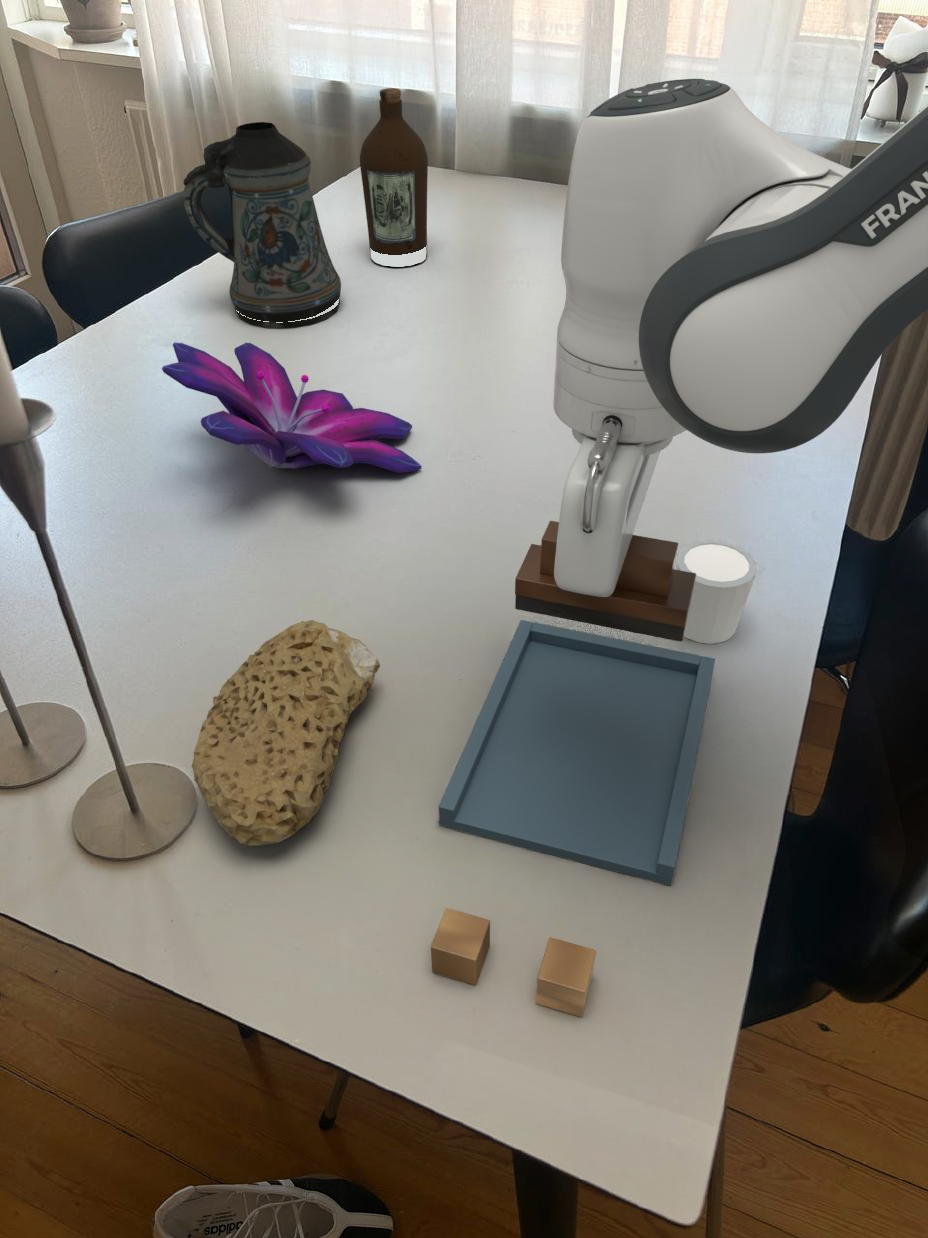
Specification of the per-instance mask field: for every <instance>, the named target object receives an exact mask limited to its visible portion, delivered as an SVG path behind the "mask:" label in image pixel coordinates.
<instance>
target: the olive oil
mask: <svg viewBox="0 0 928 1238" xmlns="http://www.w3.org/2000/svg"><path fill="white" fill-rule="evenodd" d="M379 97H380V100H379V114H380V117H379V119H378V122H376V124H375V125H374V126H373V128H372V129H371V130H370V132H369V133H368V135H367V136H366V137H365V139H364V140H363V142H362V144H361V147H360V148H361V150H360V152H359V153H360V154H359V167H360V168H359V169H360V176H361V183H362V184H361V185H362V191H363V192H362V193H363V199H364V200H363V201H364V207H365V217H366V225H367V234H368V244H369V249H370V248H371V249H372V250H373V251H375V252H378V253H380V254H381V253H382V254H388V255H402V254H408V253H413V252H416V251H419V250H421V249H423V248H424V247H426V245H427V246H428V177H429V176H428V171H429V169H428V168H429V160H428V153H427V149H426V146H425V143H424V141H423V139H422V138H421V136H419V134H418V133H417V132H416V131H415V130H414V129H413V128H412V127H411V126H410V124H408V123H407V121H406V120H405V118H404V117H403V100H402V99H401V97H402V93H401V89H399V88H392V87H390V88H382V89H381V90H379Z"/></svg>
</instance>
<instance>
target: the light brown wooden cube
mask: <svg viewBox="0 0 928 1238" xmlns="http://www.w3.org/2000/svg"><path fill="white" fill-rule="evenodd" d="M596 954H597V950H596V949H594V948H591V947H586V946H583V945H579V944H576V943H573V942H569V941H565V940H562V939H559V938H555V937H551V936H550V937H548V941H547V943H546V947H545V951H544V953H543V958H542V961H541V964H540V966H539V967H540V968H539V971H538V975H537V978H536V989H535V990H536V991H535V1004H537V1005H540V1006H544V1007H547V1008H550V1009H553V1010H557V1011H559V1012H563V1013H566V1014H569V1015H573V1016H576V1017H579V1018H582V1017H583V1016H584V1013H585V1008H586V1005H587V1000H588V996H589V992H590V988H591V984H592V980H593V976H594V970H595V964H596V963H595V962H596V957H597V956H596Z"/></svg>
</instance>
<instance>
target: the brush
mask: <svg viewBox="0 0 928 1238" xmlns="http://www.w3.org/2000/svg"><path fill="white" fill-rule="evenodd" d="M558 527H559V521H555V520H549V522H548V524H547V526H546V528H545V530H544V533H543V535H542V537H541V542H540V543H541V544H535V543H531V544H530V546H529V548H528V550H527V553H526V555H525V557H524V559H523V561H522V563H521V565H520V568H519V570H518V572H517V574H516V576H515V579H514V580H515V581H514V584H515V585H514V595H515V600H514V601H515V602H514V606H515V607H514V609H515V610H517V611H523V612H526V613H527V612H528V613H533V614H538V615H542V616H548V617H552V618H553V617H554V618H557V619H558V618H559V619H563V620H568V621H573V622H577V623H578V622H579V623H583V624H589V625H594V626H598V627H599V626H600V627H604V628H609V629H613V630H619V631H624V632H628V633H629V632H630V633H634V634H640V635H644V636H649V637H655V638H660V639H664V640H670V641H675V642H680V643H682V642H683V640H684V637H685V636H684V632H685V627H686V623H687V618H688V614H689V610H690V605H691V599H692V594H693V589H694V584H695V578H696V573H692V572H686V571H681V570H676V568H675V567H676V562H677V555H678V550H679V549H678V548H679V542H678V541H671V540H665V539H659V538H653V537H648V536H643V535H636V534H633V535H632V538H631V541H630V544H629V547H628V550H627V553H626V556H625V559H624V562H623V565H622V569H621V572H620V575H619V578H618V581H617V584H616V587H615V589H614V592H613V593H612V594H611V595H610V596H608V597H598V596H592V595H586V594H580V593H576V592H571V591H566V590H563V589H561V588H559V587H558V586H557V584H556V581H555V578H554V566H555V556H556V545H557V536H558Z"/></svg>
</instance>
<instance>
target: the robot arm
mask: <svg viewBox="0 0 928 1238" xmlns="http://www.w3.org/2000/svg"><path fill="white" fill-rule="evenodd" d="M571 157H572V158H571V163H570V169H569V174H568V181H567V188H566V195H565V205H564V216H563V225H562V240H561V250H560V251H561V254H560V258H561V259H560V263H561V270H562V274H563V277H564V283H565V300H564V307H563V309H562V312H561V315H560V318H559V321H558V324H557V329H556V343H555V344H556V345H555V346H556V347H555V349H556V350H555V364H554V365H555V366H554V367H555V368H554V383H553V401H552V403H553V405H552V406H553V410H554V414H555V415H556V417H557V418H558V419H559V421H561V422H562V423H563V424H564V425H566V426H567V427H568V428H570V429H571V434H572V436H573V438H574V439H575V441H577V442H578V443H579V445H580V446H579V448H578V450H577V452H576V455H575V457H574V459H573V461H572V464H571V466H570V468H569V469H568V473H567V476H566V479H565V482H564V483H565V484H564V487H563V493H562V498H561V503H560V511H559V518H558V522H559V527H558V536H557V545H556V556H555V566H554V578H555V581H556V584H557V586H558V587H559V588H561V589H563V590H566V591H571V592H576V593H580V594H586V595H592V596H598V597H608V596H610V595H611V594H612V593H613V592H614V589H615V587H616V584H617V581H618V578H619V575H620V572H621V569H622V565H623V562H624V559H625V556H626V553H627V550H628V547H629V544H630V541H631V538H632V535H634V533H635V529H636V526H637V523H638V520H639V517H640V514H641V511H642V508H643V505H644V502H645V499H646V495H647V494H648V493H647V492H648V491H649V487H650V484H651V481H652V478H653V474H654V473H655V472H654V471H655V469H656V466H657V463H658V459H659V456H660V453H661V452H662V451H663V450H664V449H665V448H667V447H669V445H670V444H671V443H672V442H673V439H674V437H676V436H678V435H680V434H683V433H685V432H686V431H688V432H689V433H691V434H692V435H694V436H695V437H697V438H699V439H701V440H703V441H704V442H706V443H709V444H711V445H714V446H716V447H719V448H722V449H725V450H728V451H732V452H738V453H745V454H771V453H772V454H773V453H778V452H779V453H780V452H785V451H787V450H791V449H794V448H797V447H799V446H802V445H804V444H806V443H808V442H810V441H812V440H814V439H815V438H817V437H818V436H820V435H821V434H823V433H824V432H825V431H826V430H828V429H829V428H830V427H831V426H832V425H833V424H834V423H835V422H836V421H837V420H838V419H839V418H840V417H841V416H842V415H843V413H844V412H845V410H846V409H847V408H848V407H849V405H850V404H851V402H852V401H853V399H854V398H855V396H856V394H857V393H858V391H859V390H860V388H861V386H862V385H863V384H864V381H866V379H867V377H868V375H869V374H870V372H871V371H872V369H873V367H874V366H875V364H876V363H877V362H878V360H879V358H880V357H882V354H883V353H884V352H885V350H886V349H887V348H888V347H889V346H890V345H891V343H892V342H893V341H894V340H896V338H897V337H898V336H899V335H900V334H901V333H902V332H903V331H904V330H905V329H906V328H907V327H908V326H909V325H911V324H912V323H913V322H914V321H915V320H917V319H918V318H919V317H920V316H922V315H923V314H925V312H927V311H928V104H926V105H925V106H924V107H923V108H922V109H921V110H920V111H918V112H917V113H916V114H915V115H914V116H913V117H911V118H910V119H909V120H908V121H907V122H905V123H904V124H903V125H902V126H900V127H899V128H898V129H897V130H896V131H895V132H893V134H891V135H890V136H889V137H888V138H887V139H885V140H884V141H883V142H882V143H881V144H880V145H879V146H878V147H876V148H875V149H873V150H872V151H871V152H870V153H869V154H868V155H867V156H866V157H865V158H863V159H861V161H860V162H858V163H857V164H856V165H855V166H853V167H852V166H847V165H842V164H839V163H838V162H835V161H832V160H830V159H828V158H826V157H823V156H821V155H818V154H817V153H814V152H812V151H810V150H809V149H808V150H807V149H805V148H804V147H802V146H800V145H799V144H796V143H795V142H793V141H792V140H790V139H788V138H786V137H785V136H783V135H782V134H780V133H779V132H777V131H776V130H774V129H773V128H771V127H770V126H769V125H768V124H766V123H765V122H763V121H762V120H761V119H760V118H758V117H757V116H756V115H755V114H754V113H753V112H752V111H751V110H750V109H749V108H748V107H747V106H746V104H745V103H744V102H743V100H742V99H741V97H740V96H739V95H738V93H737V92H736V90H735V89H733V87H731V86H729V85H728V84H726V83H723V82H719V81H718V80H714V79H705V78H683V79H671V80H664V81H659V82H658V81H657V82H653V83H652V82H651V83H647V84H645V85H643V86H639V87H634V88H633V87H632V88H630V89H626V90H624V91H622V92H619V93H618V94H615V95H614V96H612V97H610V98H608V99H606V100H605V101H604V102H602V103H601V104H599V105H597V106H596V107H595V108H593V110H592V111H590V113H589V115H588V116H587V117H585V119H584V120H583V121H582V123H581V125H580V128H579V131H578V133H577V137H576V140H575V144H574V148H573V152H572V156H571Z"/></svg>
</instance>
